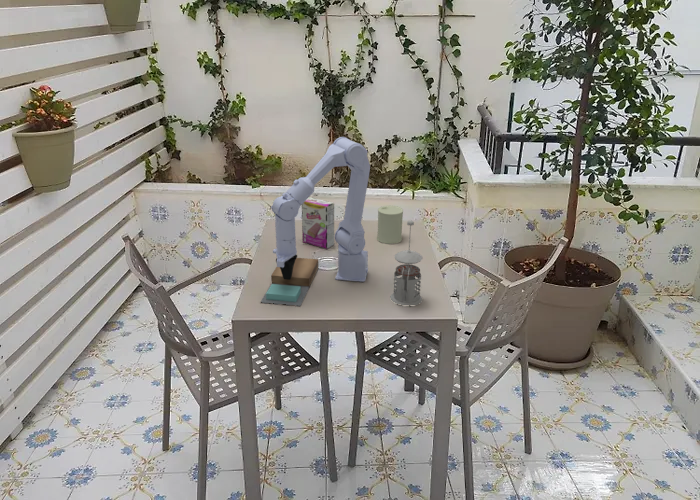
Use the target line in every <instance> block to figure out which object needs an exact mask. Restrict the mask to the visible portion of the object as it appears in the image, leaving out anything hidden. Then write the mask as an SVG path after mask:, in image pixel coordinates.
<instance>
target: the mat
mask: <svg viewBox="0 0 700 500" xmlns="http://www.w3.org/2000/svg"><path fill="white" fill-rule="evenodd" d="M272 284H275V283H272V282H271V284H270V285H269V287H268V288H267V290H266V292H265V294H264V295H263V297H262V298H261V300H260V302H262V303H261V304H267V303H274V304H273V305H278V304H286V305H285V306H290V305H296V306H295V307H301V305H302V303H303V302H304V299H305V298H306V295H307V293H308V291H309V289H310V287H309V286H300V287H301V293H300V295H299V297H298V299H297V301H296V302H290V301H278V300H267V299H266V293H267V291H268V290H269V288H270V286H271V285H272ZM277 285H287V284H277ZM288 286H299V285H288Z"/></svg>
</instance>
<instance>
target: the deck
mask: <svg viewBox="0 0 700 500" xmlns="http://www.w3.org/2000/svg"><path fill="white" fill-rule="evenodd" d="M319 265H320V264H319V259H318V258H305V257H297V258H296V260H295V263H294V267H293V272H292V277H291V279H290V280H287V279H284V278H283V275H282V272H281V269H280V267H277V266H276V267H275V269H274V270H273V272H272V273H271V275H270V276H271V277H270V278H271V284H272V283H275V284H287V285H299V286H309V288H310V287H311V284H312V282H313V280H314V278H315V276H316V274H317V271H318V269H319V268H318V267H320V266H319Z"/></svg>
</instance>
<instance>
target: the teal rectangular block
mask: <svg viewBox="0 0 700 500" xmlns="http://www.w3.org/2000/svg"><path fill="white" fill-rule="evenodd" d="M271 284H272V283H271ZM271 284H270V285H271ZM270 285H269V287H270V288H269V287H268V288H269V290H268V289H267V290H268V291H267V290H266V292H267V293H266V292H265V293H266V299H267V300H278V301H290V302H296V301H297V299H298V297H299V295H300V293H301V287H300V286H288V285H277V284H272V285H271V286H270Z"/></svg>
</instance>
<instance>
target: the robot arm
mask: <svg viewBox="0 0 700 500" xmlns="http://www.w3.org/2000/svg"><path fill="white" fill-rule="evenodd" d="M368 153H369V152H368V150H367V148H365V146H364V145H363V144H362V143H359V142H355V141H354V140H351V139H349V138H348V137H345V136H340V137H338V138H336V139H335V140H334V141H333V143H331V144H330V145H329V147H327V150H326V153H325V154H324V155H323V156H322V158H321V159H320V160H319V161H318V162H317V163H316V165H314V167H313V168H312V169H311V170H310V172H309V173H308V174H307V175H306V176H302V177H299V178H298V179H295V180H294V181H293V182H292V183H293V184H292V185H291V186H290V187H289V188H288V189H287V190H286V191H285V192H283V193H282V194H281V195H280V196H278V197H276V198H274V200H273V202H272V205H271V206H270V208H271V211H272V213H274V218H275V221H274V222H275V223H274V224H275V239H276V240H275V241H276V243H275V244H276V248H273V250H272V254H275V255H276V257H275V258H276V259H275V263H276V267H280V269H281V272H282V275H283V278H284V279H287V280H290V279H291V277H292V272H293V267H294V263H295V260H296V258H298V254H297V252H298V251H297V247H296V246H297V241H296V240H297V238H296V217H297V216H298V214H299V211H300V208H301V207H302V204H303V203H304V202H305V201H306V200H307V198H308V197H311V195H312V194H313V193H314V192H315V185H317V184H318V183H319V182H320V181H321V180H322V179H323V178H325V176H327V174H329V172H331V171H332V169H334V168H335V167H348V168H349V169H350V170H351V171H350V176H349V177H350V178H349V183H348V190H347V196H346V203H345V210H344V216H343V219H342V220H341V221H340V222H339V223H338V228H337V229H336V231H335V232H334V242H336V243H337V245H338V246H337V247H338V248H337V249H338V252H337V254H338V255H337V257H338V261H337V262H338V263H337V264H338V265H337V266H338V267H337V269H338V270H337V273H336V276H335V277H334V278H335V280H336V281H337V280H338V281H351V282H361V283H363V282H366V279H367V276H368V273H369V265H368V263H369V262H368V261H369V251H368V250H365V247H366V240H365V229H364V227H363V225H362V218H363V213H364V207H365V201H366V195H367V190H368V183H369V177H370V171H371V170H370V169H371V165H370V161H369V158H368Z"/></svg>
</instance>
